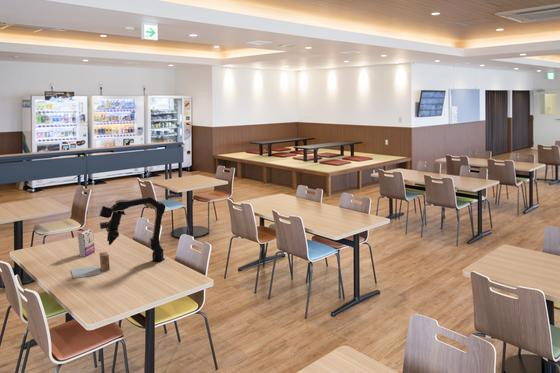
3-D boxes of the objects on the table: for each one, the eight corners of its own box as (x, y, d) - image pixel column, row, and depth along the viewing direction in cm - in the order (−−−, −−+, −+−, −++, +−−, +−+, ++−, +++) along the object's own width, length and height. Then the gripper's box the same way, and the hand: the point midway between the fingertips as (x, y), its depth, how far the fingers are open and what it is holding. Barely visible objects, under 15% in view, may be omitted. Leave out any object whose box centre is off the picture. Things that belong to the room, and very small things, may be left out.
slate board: (97, 266, 313) (97, 265, 313) (101, 273, 299) (101, 273, 299) (71, 270, 305) (70, 269, 305) (73, 278, 292) (73, 278, 291)
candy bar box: (88, 251, 343) (86, 229, 340) (95, 251, 342) (93, 229, 339) (79, 256, 332) (77, 233, 329) (85, 257, 331) (83, 233, 328)
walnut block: (108, 266, 312) (106, 252, 310) (109, 270, 305) (108, 255, 304) (100, 268, 309) (99, 253, 308) (102, 271, 303) (101, 256, 302)
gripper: (101, 213, 312) (94, 236, 313) (103, 220, 295) (96, 244, 296) (118, 217, 317) (112, 240, 318) (122, 224, 300) (115, 248, 301)
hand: (108, 243), depth 308 cm, fingers open, 9 cm apart
